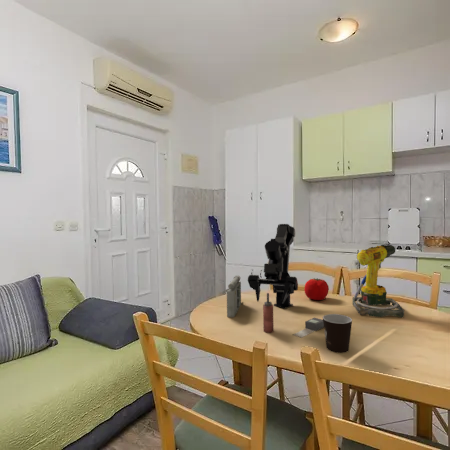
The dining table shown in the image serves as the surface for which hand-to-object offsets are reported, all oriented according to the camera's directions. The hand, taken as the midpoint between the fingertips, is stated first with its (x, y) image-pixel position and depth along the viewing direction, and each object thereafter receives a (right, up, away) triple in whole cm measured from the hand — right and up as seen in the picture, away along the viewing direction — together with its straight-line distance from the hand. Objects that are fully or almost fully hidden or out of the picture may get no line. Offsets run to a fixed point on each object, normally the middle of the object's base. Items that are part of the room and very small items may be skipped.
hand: (269, 301), depth 116 cm
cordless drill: (+50, -9, +20) cm, 54 cm away
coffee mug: (+19, -11, -17) cm, 28 cm away
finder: (+17, -9, 0) cm, 19 cm away
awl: (-1, -10, -3) cm, 11 cm away
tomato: (+29, -8, +39) cm, 49 cm away
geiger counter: (-12, -10, +27) cm, 32 cm away
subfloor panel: (+10, -10, +1) cm, 14 cm away
